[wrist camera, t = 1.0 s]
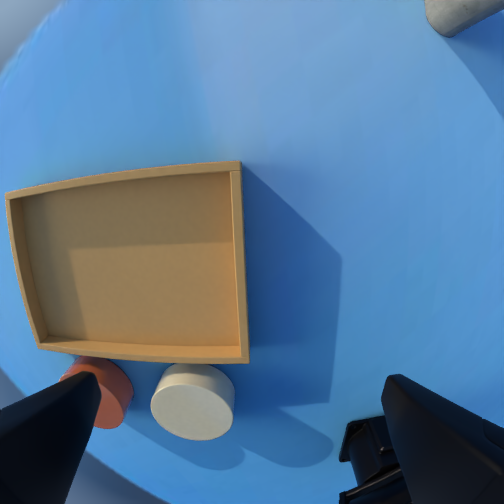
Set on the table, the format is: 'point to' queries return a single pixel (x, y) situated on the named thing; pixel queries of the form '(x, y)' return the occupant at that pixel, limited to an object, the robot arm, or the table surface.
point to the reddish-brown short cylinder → (106, 389)
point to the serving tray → (136, 264)
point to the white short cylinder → (194, 401)
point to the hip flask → (459, 14)
